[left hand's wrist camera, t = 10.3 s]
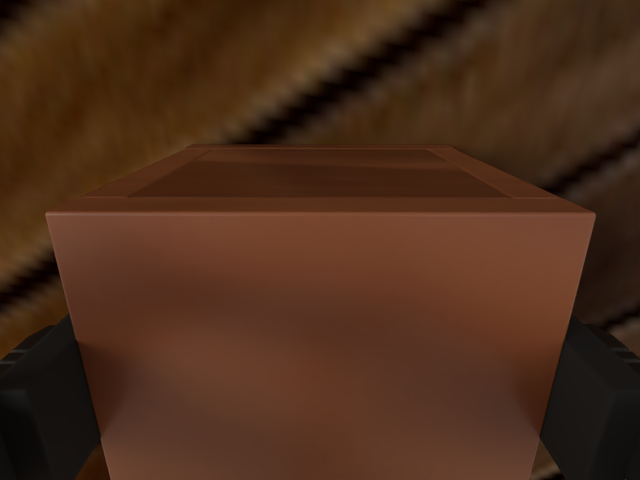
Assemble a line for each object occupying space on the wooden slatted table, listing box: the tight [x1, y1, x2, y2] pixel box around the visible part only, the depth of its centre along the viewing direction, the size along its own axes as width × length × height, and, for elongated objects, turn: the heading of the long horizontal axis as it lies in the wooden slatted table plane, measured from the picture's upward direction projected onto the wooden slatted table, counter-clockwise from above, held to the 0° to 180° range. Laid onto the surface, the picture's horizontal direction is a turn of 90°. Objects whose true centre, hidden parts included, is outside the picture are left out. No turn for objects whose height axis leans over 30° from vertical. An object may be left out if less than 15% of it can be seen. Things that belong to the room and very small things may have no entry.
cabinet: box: [45, 144, 596, 480], centre depth 15 cm, size 19×10×10 cm, turn 0°
